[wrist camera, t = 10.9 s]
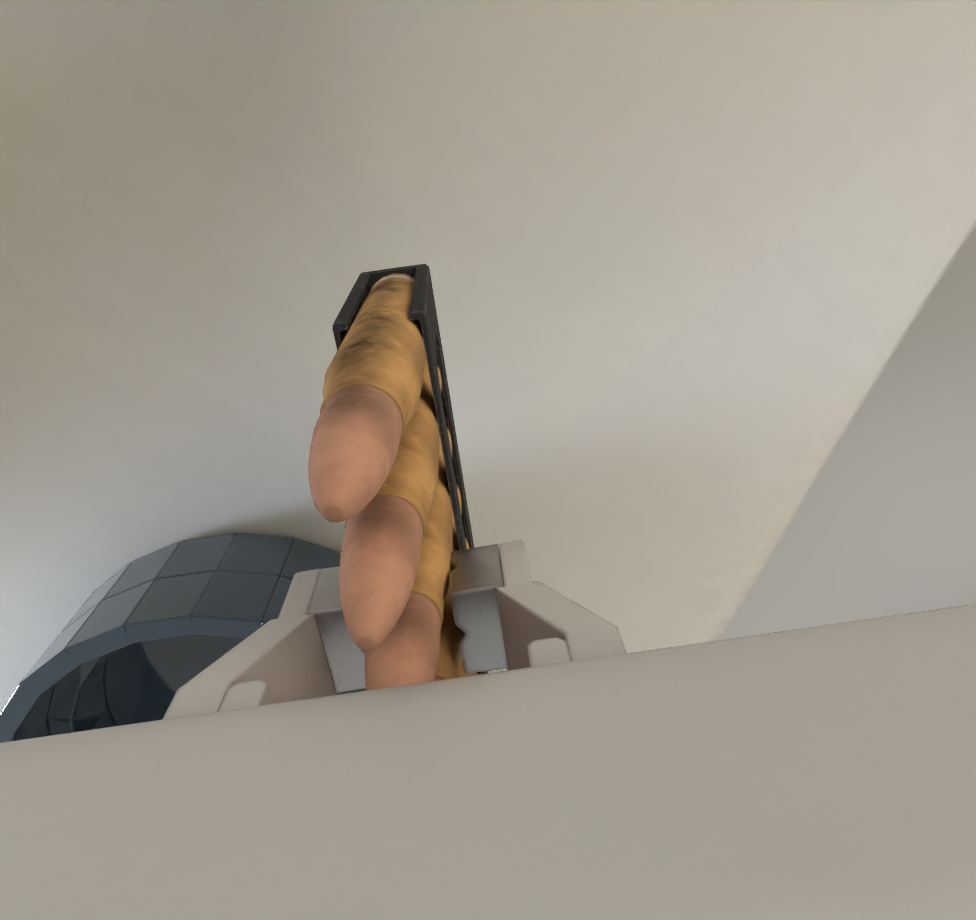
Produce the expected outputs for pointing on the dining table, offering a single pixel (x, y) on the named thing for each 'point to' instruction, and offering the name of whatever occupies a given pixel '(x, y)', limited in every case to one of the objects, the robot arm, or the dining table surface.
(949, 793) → the robot arm
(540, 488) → the dining table surface
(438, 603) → the ammunition clip
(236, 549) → the bowl
